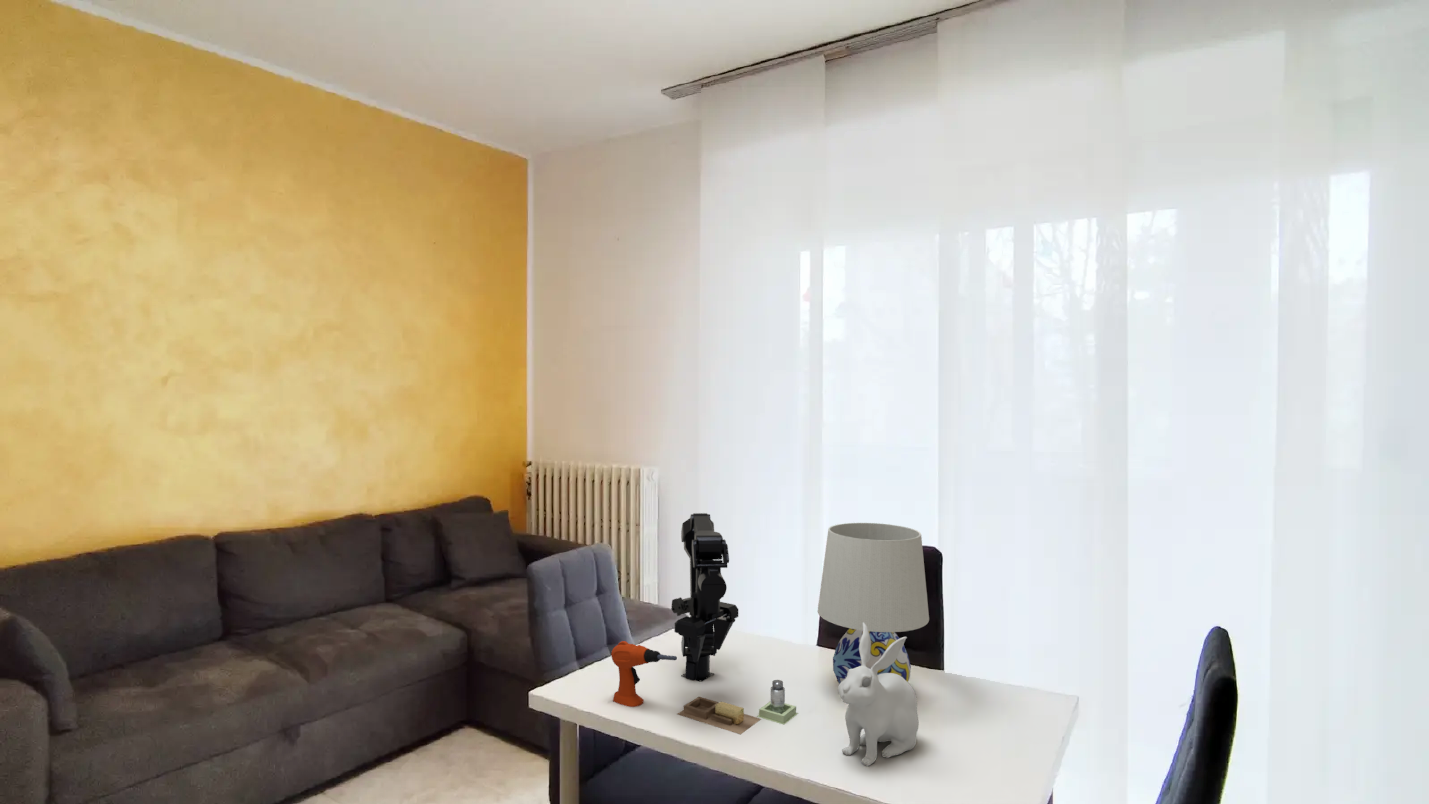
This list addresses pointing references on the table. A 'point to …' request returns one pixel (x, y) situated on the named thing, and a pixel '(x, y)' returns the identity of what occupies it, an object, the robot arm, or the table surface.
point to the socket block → (715, 716)
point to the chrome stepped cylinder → (777, 697)
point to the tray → (777, 717)
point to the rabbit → (879, 704)
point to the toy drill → (632, 670)
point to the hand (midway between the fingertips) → (706, 655)
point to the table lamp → (873, 591)
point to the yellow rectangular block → (730, 712)
